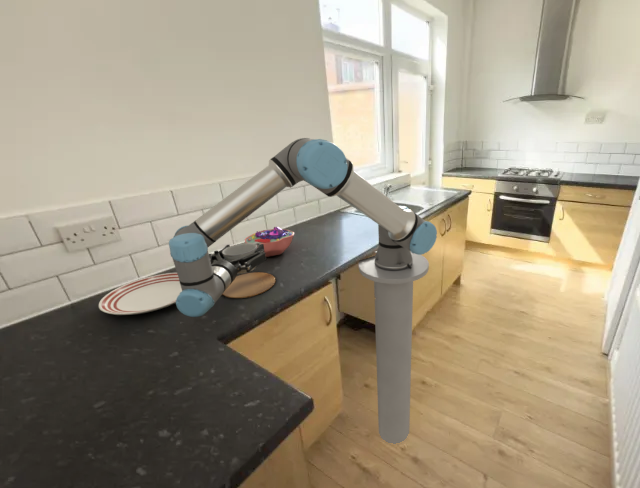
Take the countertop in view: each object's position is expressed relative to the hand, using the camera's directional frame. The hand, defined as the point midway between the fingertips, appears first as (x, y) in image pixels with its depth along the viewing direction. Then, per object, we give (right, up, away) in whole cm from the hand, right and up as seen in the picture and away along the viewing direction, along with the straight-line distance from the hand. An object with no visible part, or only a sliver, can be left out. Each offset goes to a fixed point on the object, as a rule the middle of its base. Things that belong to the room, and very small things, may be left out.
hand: (246, 247), depth 110 cm
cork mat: (0, -13, +1) cm, 13 cm away
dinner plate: (-27, -17, -6) cm, 32 cm away
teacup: (+1, -7, -1) cm, 7 cm away
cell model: (0, -2, +26) cm, 26 cm away
